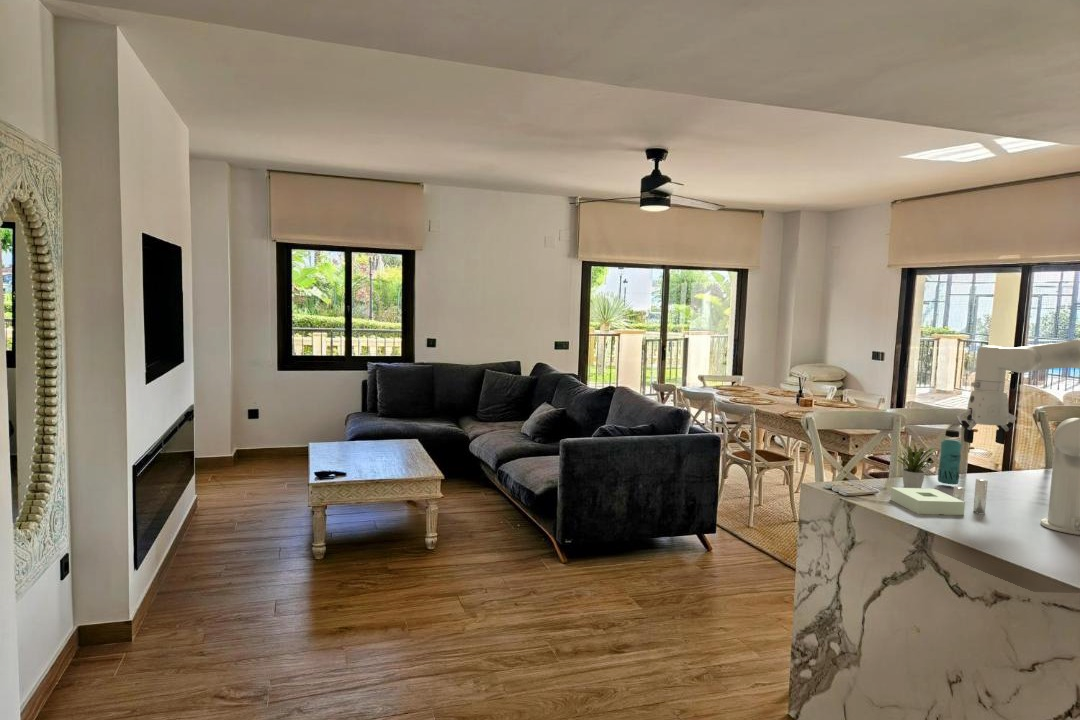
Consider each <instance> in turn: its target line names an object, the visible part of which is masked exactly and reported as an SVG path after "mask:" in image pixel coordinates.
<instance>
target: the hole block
mask: <svg viewBox="0 0 1080 720" xmlns="http://www.w3.org/2000/svg"><path fill="white" fill-rule="evenodd" d="M890 500H891V501H892V502H894V503H896V504H898V505H900V506H902V507H904V508H906V509H907V510H909V511H911V512H913V513H915V514H917V515H939V514H944V515H946V516H964V515H965V506H966V502H965V500H964V501H961V500H959V499H957V498H954V497H953V495H949V494H947V493H945V492H943V491H940V490H938V489H936V488H927V487H926V488H922V487H921V488H904V487H891V488H890ZM944 515H943V516H944Z"/></svg>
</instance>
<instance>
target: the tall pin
mask: <svg viewBox="0 0 1080 720" xmlns="http://www.w3.org/2000/svg"><path fill="white" fill-rule="evenodd" d="M974 484H975V485H974V487H975V488H974V498H973V510H972V511H975V512H978V513H977V514H979V513H985V514H986V507H987V506H986V505H987V493H988V485H989V484H988V480H987V479H983V478H975V483H974ZM975 512H974V513H975Z"/></svg>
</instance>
